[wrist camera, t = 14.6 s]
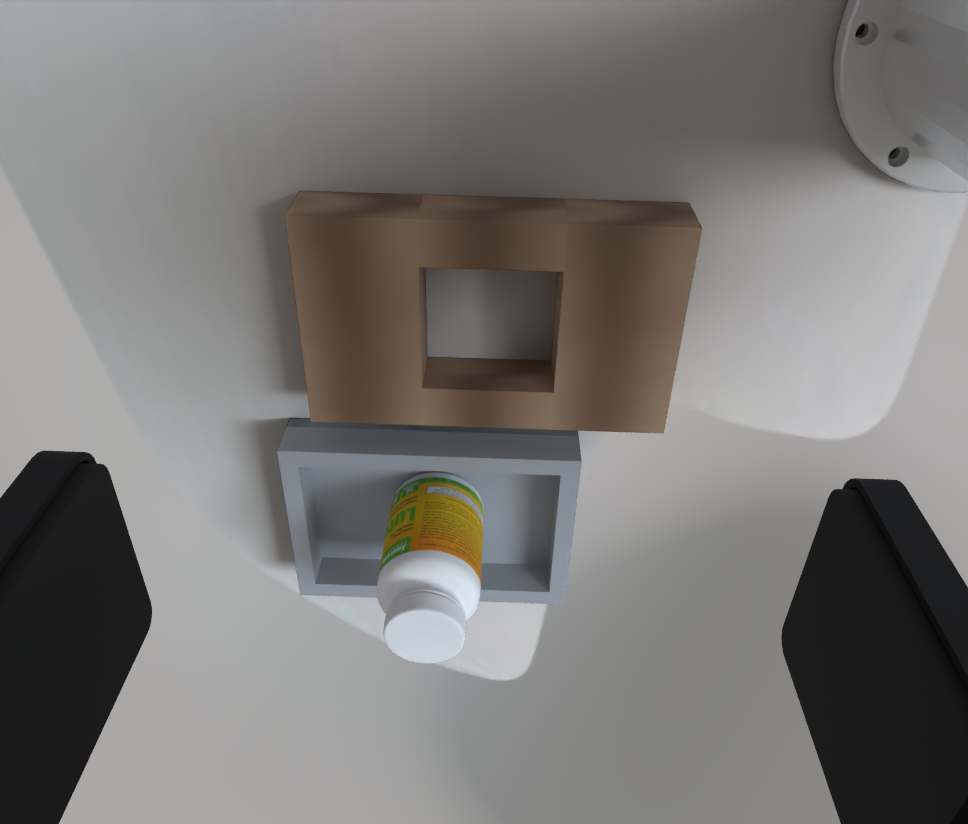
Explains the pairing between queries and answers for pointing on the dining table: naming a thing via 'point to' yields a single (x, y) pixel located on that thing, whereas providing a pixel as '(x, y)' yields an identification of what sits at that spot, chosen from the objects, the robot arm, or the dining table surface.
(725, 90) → the dining table surface
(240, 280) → the dining table surface
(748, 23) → the dining table surface
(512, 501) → the parts tray
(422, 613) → the supplement bottle
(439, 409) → the socket holder
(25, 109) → the dining table surface
